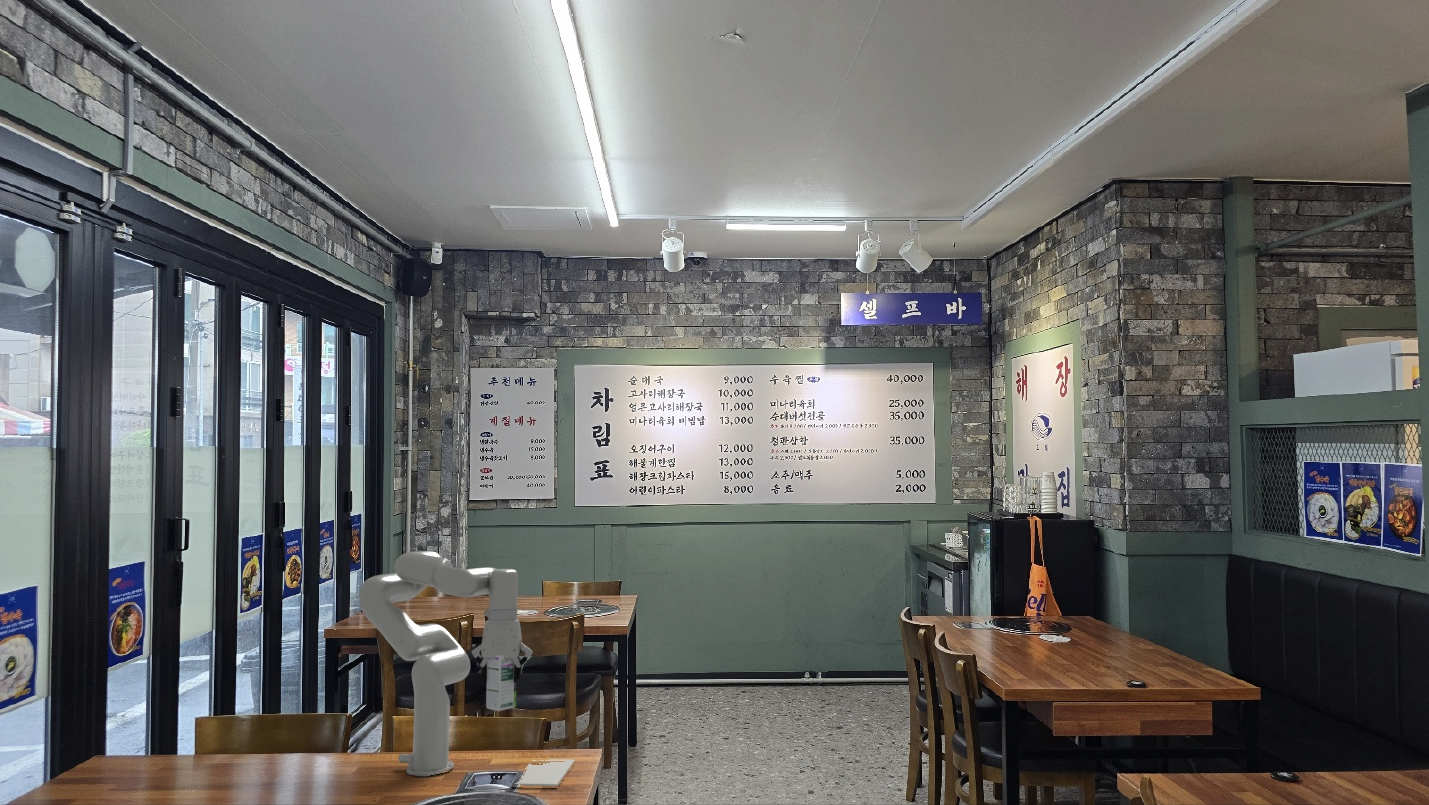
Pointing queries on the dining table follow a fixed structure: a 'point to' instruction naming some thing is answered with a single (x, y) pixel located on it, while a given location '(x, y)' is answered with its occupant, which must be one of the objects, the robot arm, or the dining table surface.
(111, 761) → the dining table surface
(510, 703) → the syrup box
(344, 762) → the dining table surface
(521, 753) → the dining table surface
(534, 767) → the cutting board
